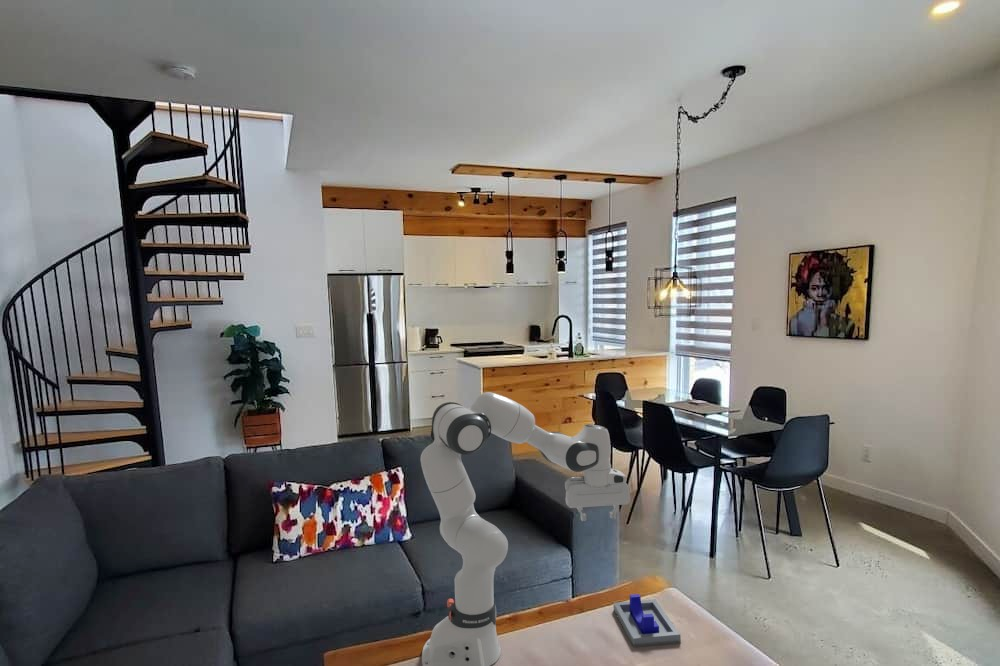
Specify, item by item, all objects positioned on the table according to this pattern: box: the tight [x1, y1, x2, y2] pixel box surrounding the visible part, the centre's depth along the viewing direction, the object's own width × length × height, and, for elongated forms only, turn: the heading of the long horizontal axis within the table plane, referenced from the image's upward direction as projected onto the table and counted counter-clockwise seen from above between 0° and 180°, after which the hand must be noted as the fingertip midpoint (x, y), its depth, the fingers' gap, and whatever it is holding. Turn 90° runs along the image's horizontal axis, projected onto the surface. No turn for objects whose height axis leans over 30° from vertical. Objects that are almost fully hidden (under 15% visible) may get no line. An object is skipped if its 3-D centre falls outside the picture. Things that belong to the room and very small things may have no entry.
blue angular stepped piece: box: [629, 593, 659, 634], centre depth 148 cm, size 12×4×6 cm, turn 5°
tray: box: [613, 599, 682, 648], centre depth 149 cm, size 14×18×2 cm
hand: (598, 519), depth 154 cm, fingers open, 8 cm apart
